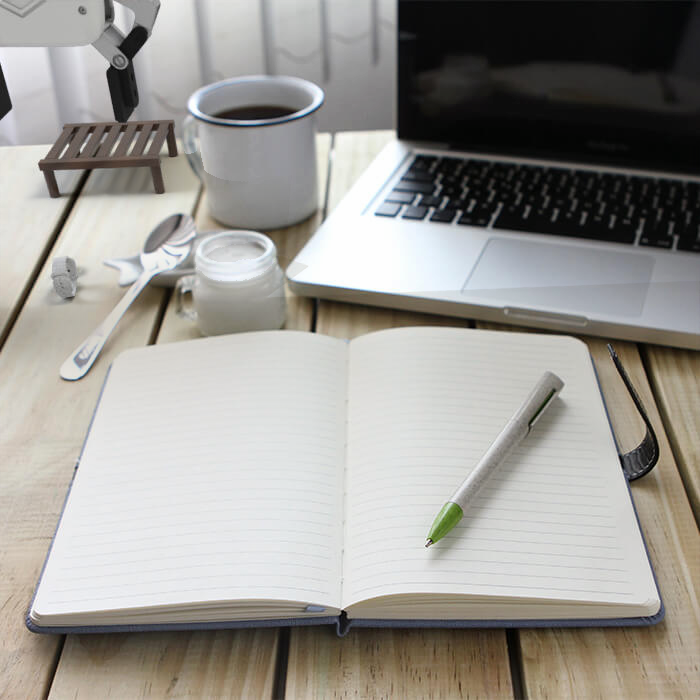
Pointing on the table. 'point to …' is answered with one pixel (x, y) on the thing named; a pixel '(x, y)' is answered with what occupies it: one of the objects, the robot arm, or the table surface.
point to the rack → (109, 149)
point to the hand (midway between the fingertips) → (63, 116)
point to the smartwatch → (64, 276)
